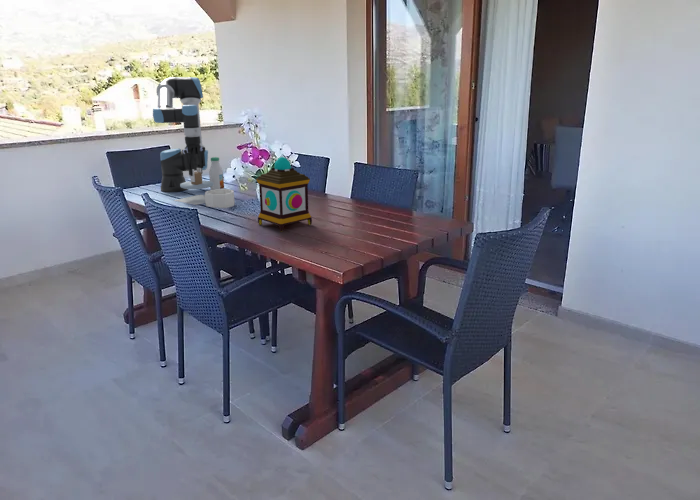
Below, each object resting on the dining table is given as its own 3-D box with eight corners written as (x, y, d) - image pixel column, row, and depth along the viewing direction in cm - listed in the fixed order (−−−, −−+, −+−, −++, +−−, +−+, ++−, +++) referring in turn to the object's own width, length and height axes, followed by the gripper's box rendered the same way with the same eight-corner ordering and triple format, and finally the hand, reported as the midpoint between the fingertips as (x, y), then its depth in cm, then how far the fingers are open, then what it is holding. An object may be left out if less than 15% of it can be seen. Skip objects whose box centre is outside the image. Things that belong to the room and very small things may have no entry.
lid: (173, 186, 266) (171, 173, 263) (198, 181, 279) (197, 168, 277) (195, 190, 257) (193, 177, 254) (220, 184, 270) (219, 171, 268)
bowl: (200, 206, 258) (199, 192, 256) (221, 200, 269) (220, 188, 267) (219, 209, 250) (218, 195, 248) (240, 204, 262) (239, 191, 259)
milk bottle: (216, 194, 284) (213, 159, 278) (207, 192, 289) (204, 157, 282) (227, 192, 290) (224, 157, 284) (218, 190, 294) (215, 156, 288)
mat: (173, 201, 267) (173, 200, 267) (200, 195, 282) (200, 194, 282) (196, 205, 258) (196, 204, 258) (222, 199, 272) (222, 198, 272)
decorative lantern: (253, 224, 225) (249, 156, 215) (288, 216, 238) (286, 152, 228) (280, 233, 211) (277, 161, 202) (316, 224, 224) (315, 157, 215)
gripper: (183, 138, 250) (188, 184, 258) (210, 134, 264) (213, 179, 272) (173, 137, 254) (178, 182, 262) (200, 133, 268) (204, 177, 276)
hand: (196, 180), depth 267 cm, fingers closed on lid, 4 cm apart
